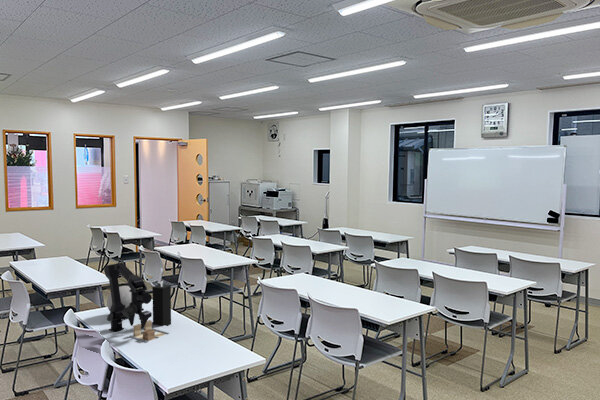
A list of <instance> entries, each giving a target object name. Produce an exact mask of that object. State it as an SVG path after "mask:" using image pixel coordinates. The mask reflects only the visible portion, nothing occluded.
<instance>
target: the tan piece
mask: <svg viewBox="0 0 600 400" xmlns="http://www.w3.org/2000/svg"><path fill="white" fill-rule="evenodd" d="M132 331H133V336H134V337H137V338H140V339H143V334H141V332H142V329H141V323H137V324H135V325H134V324H133V330H132ZM154 339H155V340H156V338H154ZM154 339H152V340H149V341H148V342H150V341H153V340H154ZM143 340H144V339H143ZM146 341H147V340H146Z"/></svg>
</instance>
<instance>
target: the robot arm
mask: <svg viewBox="0 0 600 400" xmlns="http://www.w3.org/2000/svg"><path fill="white" fill-rule="evenodd" d="M103 271H104V275H105V277H106V278H107V279H108V282H109V289H110V293H111V298H112V306H111V308H110V311H109V314H108V315H107V317H106V318H107V321H108V322H110V328H108V331H110V332H114V333H117V332H119V331H121V330H125V327H123V319H125V318H127V319H128V322H129V325H130V326H134V322H135V317H136V316H135V315H138V320H139V321H140V324H141V330H144V326H145V324H146V322H147V321H149V318H151V317H153V312H151V311H149V310H145V309H144V308H143V304H146V305H148V304H150V303H151V301H152V300H153V295H151V293H150V292H149V290H148V287H147V285H146V283H145V281H144V279H143V278H142V277H141V276H139V275H136V274H134V273H133V272H132V271H131V270H130V269H129V268H128V266H127V265H126V264H125V262H122V261H121V262H117V263H111V264H106V265H105V267H104V268H103ZM120 275H121V276H122V277H123V278H124V279H125V280H126V281H127V286H129V287H130V289H131V290H130V291H129V292H131V302H130V304H129V306H128V307H126V308H125V305H123V304H122V303H121V298H120V290H119V287H120V283H119V277H120ZM125 316H126V317H125Z"/></svg>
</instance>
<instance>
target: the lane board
mask: <svg viewBox="0 0 600 400" xmlns="http://www.w3.org/2000/svg"><path fill="white" fill-rule="evenodd" d="M152 330H154V331H156V332H157V333H159V332H160V333H163V334H165V335H170V332H167V331H164V330H160V329H157V328H154V327H152ZM141 334H143V331H141ZM128 337H129V338H131V339H134V340H136V341H140V342H144V343H149V341H146V340H143V339H140V338H137V337H134V335H129V336H128ZM159 338H160V337H158V336H155V339H159Z"/></svg>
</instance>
